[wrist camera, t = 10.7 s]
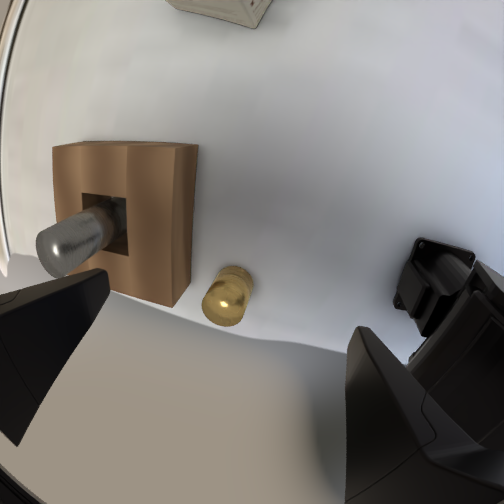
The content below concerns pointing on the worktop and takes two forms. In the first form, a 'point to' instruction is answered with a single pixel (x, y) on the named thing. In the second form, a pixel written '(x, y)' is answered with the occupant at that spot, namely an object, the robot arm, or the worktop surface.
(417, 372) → the robot arm
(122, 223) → the long pin
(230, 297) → the short pin
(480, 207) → the worktop surface
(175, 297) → the hole block
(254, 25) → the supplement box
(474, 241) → the worktop surface
